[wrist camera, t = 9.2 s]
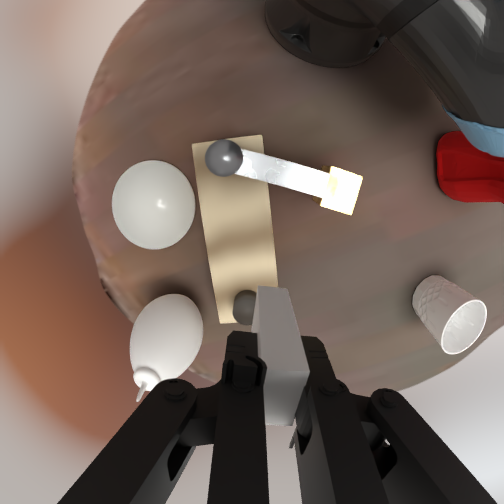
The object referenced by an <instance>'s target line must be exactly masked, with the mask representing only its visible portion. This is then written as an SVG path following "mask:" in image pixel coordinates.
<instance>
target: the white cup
mask: <svg viewBox="0 0 504 504" xmlns="http://www.w3.org/2000/svg"><path fill="white" fill-rule="evenodd" d="M412 306H413V308H414V310H415V312H416V314H417V315H418V316H419V317H420V319H421V321H422V322H423V323H424V325H425V326H426V328H427V329H428V330H429V332H430V333H431V334H432V336H433V337H434V338H435V340H436V341H437V342H438V344H439V345H440V346H441V348H442V349H443V350H444V351H445V352H446V353H448V354H457V353H460V352H462V351H464V350H466V349H467V348H468V347H470V346H471V345H472V344H473V343H474V342H475V340H476V339H477V338H478V337H479V335H480V333H481V332H482V330H483V328H484V325H485V322H486V317H487V310H486V306H485V304H484V303H483V302H482V301H480V300H479V299H477V298H476V297H474V296H473V295H471V294H470V293H468V292H467V291H465V290H464V289H462V288H461V287H459V286H458V285H456V284H454V283H453V282H450V281H448V280H446V279H445V278H443V277H442V276H440V275H431V276H429V277H427V278H425V279H424V280H423V281H422V282H421V283H420V284H419V285H418V286H417V288H416V290H415V292H414V295H413V302H412Z"/></svg>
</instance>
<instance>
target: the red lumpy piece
mask: <svg viewBox="0 0 504 504" xmlns="http://www.w3.org/2000/svg"><path fill="white" fill-rule="evenodd" d="M436 157H437V164H438V165H437V177H438V181H439V185H440V188H441V189H442V190H443V192H444V193H445V194H446V195H447V196H449V197H450V198H452V199H454V200H458V201H462V202H501V203H503V204H504V158H503V157H497V156H493V155H490V154H489V153H487V152H483V151H481V150H479V149H477V148H476V147H475V146H473V145H472V144H471V143H470V142H469V141H468V140H467V138H466V137H465V135H464V134H463V132H462V131H452V132H449V133H446V134H445V135H443V136H442V137H441V139H440V140H439V141H438V146H437V152H436Z"/></svg>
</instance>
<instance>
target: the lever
mask: <svg viewBox="0 0 504 504" xmlns="http://www.w3.org/2000/svg"><path fill="white" fill-rule="evenodd" d="M205 163H206V166H207V168H208V169H209V171H210V172H212V173H213V174H215V175H217V176H221V177H227V176H230V175H233V174H237V175H242V176H245V177H249V178H253V179H257V180H261V181H265V182H268V183H272V184H276V185H280V186H283V187H287V188H290V189H294V190H297V191H301V192H304V193H308V194H311V195H313V198H312V200H313V201H315V202H316V203H317V204H319V205H320V206H323V207H326V208H330V209H333V210H336V211H339V212H343V213H346V214H349V215H352V211H353V208H354V205H355V202H356V199H357V195H358V192H359V188H360V185H361V182H362V178H363V177H361V176H359V175H356V174H353V173H350V172H347V171H344V170H341V169H339V168H336V167H333V166H322V167H321V171H319V170H316V169H313V168H309V167H306V166H303V165H299V164H296V163H292V162H289V161H286V160H282V159H278V158H275V157H271V156H267V155H264V154H260V153H256V152H252V151H248V150H244V149H242V148H241V147H240V146H238V145H237V144H236V143H235V142H233V141H231V140H227V139H221V140H217V141H215V142H214V143H212V144H211V145H210V146H209V147H208V149H207V151H206V153H205Z"/></svg>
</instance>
